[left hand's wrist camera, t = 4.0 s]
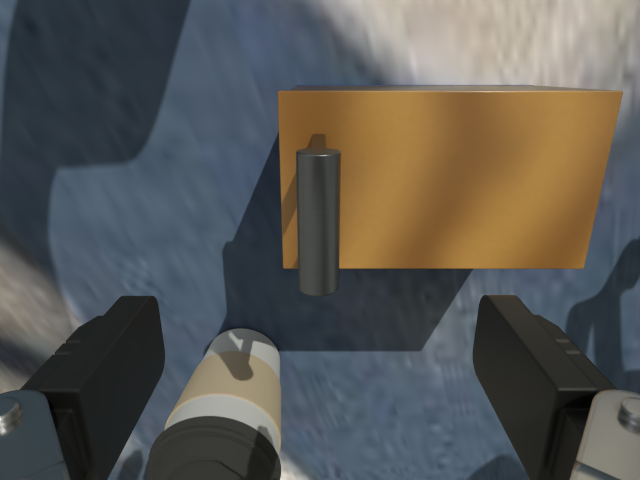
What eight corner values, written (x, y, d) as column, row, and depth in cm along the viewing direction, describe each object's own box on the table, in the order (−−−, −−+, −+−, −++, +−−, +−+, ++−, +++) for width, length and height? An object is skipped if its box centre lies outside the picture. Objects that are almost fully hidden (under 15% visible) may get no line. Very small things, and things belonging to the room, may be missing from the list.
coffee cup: (246, 413, 45) (212, 569, 31) (176, 358, 43) (105, 499, 28) (311, 360, 43) (307, 503, 29) (241, 299, 40) (199, 421, 26)
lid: (284, 263, 28) (270, 337, 20) (279, 90, 24) (259, 99, 17) (576, 263, 28) (675, 337, 20) (613, 90, 24) (751, 99, 16)
